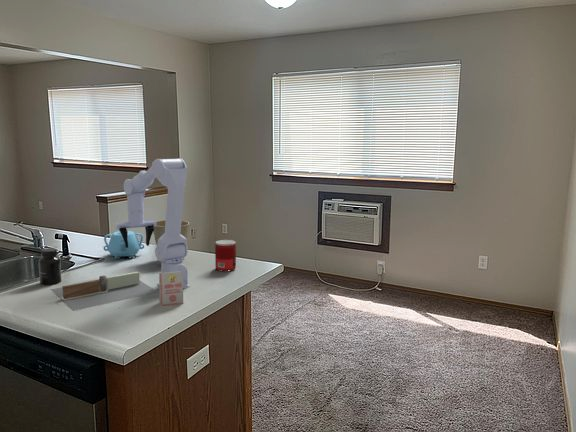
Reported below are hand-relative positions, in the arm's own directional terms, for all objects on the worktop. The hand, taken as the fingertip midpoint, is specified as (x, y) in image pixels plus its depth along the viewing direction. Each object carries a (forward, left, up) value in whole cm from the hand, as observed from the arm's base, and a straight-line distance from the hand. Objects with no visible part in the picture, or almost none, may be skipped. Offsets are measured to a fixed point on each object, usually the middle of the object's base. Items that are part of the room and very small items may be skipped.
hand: (137, 246), depth 175 cm
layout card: (-15, +18, -10) cm, 26 cm away
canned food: (-17, -28, -10) cm, 35 cm away
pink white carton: (-39, +6, -10) cm, 40 cm away
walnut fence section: (-15, +24, -9) cm, 30 cm away
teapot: (+25, -4, -10) cm, 27 cm away
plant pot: (+7, -17, -10) cm, 21 cm away
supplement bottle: (+4, +30, -10) cm, 32 cm away
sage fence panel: (-15, +12, -9) cm, 22 cm away
